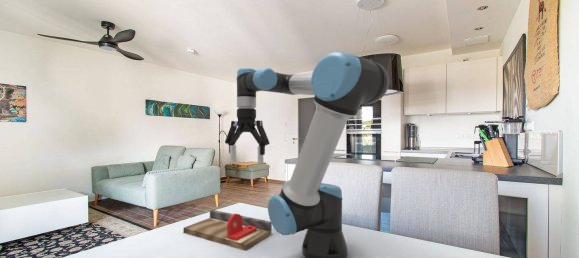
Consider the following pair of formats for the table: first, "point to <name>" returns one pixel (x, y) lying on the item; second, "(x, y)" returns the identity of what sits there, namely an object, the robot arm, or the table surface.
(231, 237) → the bracket
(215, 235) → the board
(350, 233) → the table surface
